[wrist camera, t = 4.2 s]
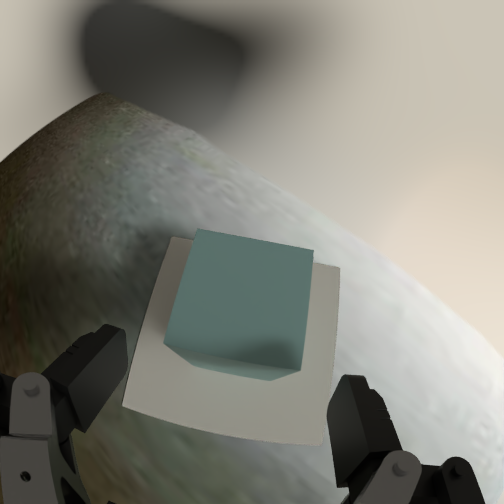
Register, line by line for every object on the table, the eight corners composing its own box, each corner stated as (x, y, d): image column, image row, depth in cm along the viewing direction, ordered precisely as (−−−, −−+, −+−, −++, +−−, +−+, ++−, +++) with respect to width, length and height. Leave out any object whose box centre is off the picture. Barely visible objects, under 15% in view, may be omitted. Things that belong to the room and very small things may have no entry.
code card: (122, 405, 17) (121, 405, 17) (172, 236, 25) (171, 236, 25) (321, 445, 17) (321, 445, 17) (340, 268, 25) (340, 267, 25)
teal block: (193, 366, 20) (163, 343, 11) (210, 296, 23) (197, 228, 14) (270, 381, 20) (300, 370, 11) (281, 309, 22) (313, 250, 14)
